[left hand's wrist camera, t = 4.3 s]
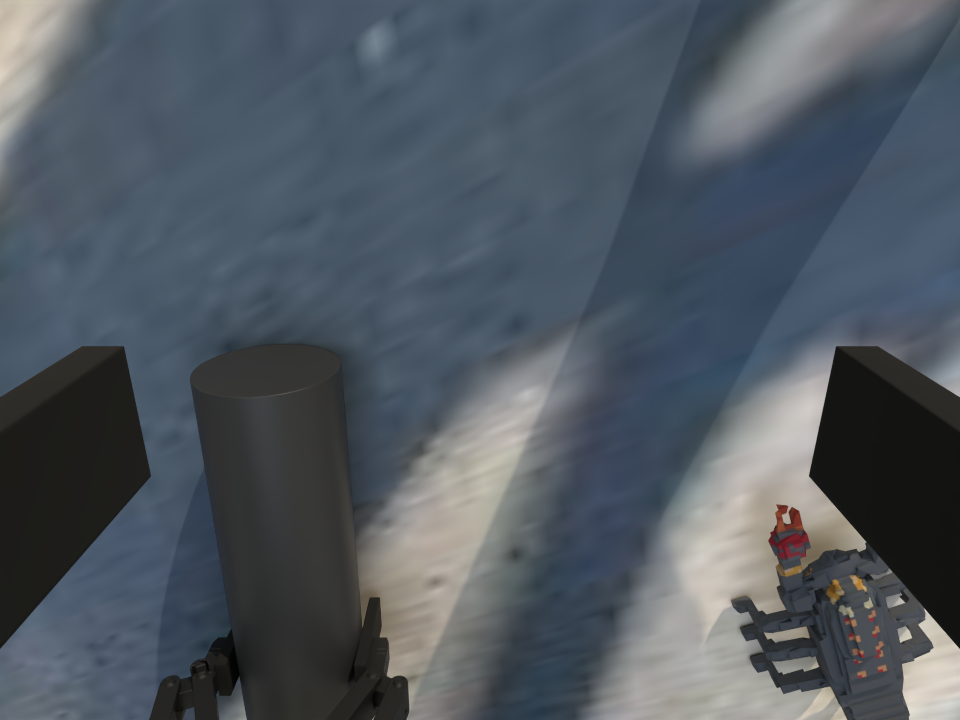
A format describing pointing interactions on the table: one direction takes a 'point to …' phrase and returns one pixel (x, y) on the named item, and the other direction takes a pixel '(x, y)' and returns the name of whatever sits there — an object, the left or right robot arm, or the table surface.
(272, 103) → the table surface
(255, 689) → the rod
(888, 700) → the toy
